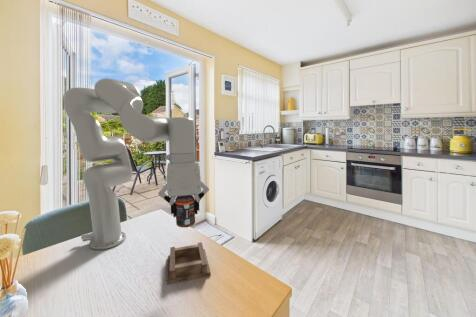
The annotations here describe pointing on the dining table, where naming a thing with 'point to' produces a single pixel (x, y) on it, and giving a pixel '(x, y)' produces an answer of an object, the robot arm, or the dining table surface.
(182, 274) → the can holder
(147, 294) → the dining table surface
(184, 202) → the supplement bottle
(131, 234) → the dining table surface
